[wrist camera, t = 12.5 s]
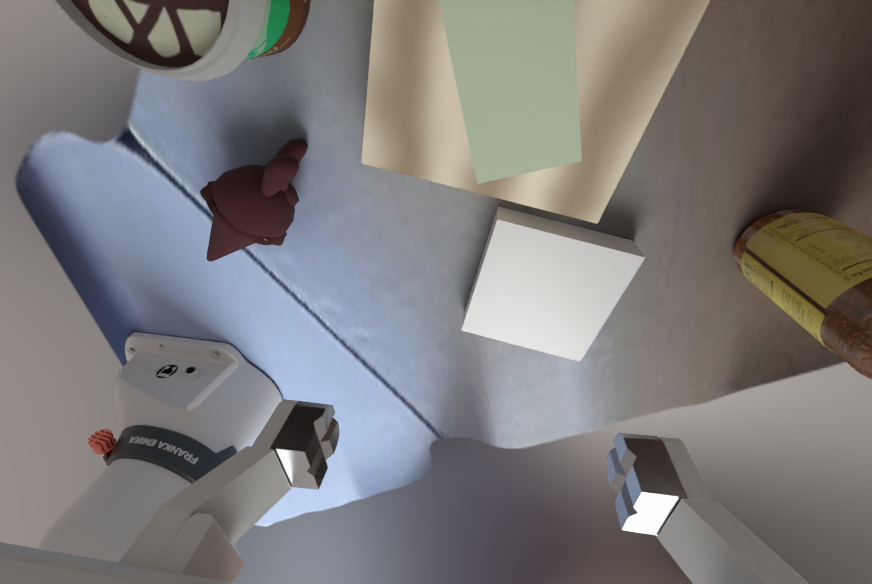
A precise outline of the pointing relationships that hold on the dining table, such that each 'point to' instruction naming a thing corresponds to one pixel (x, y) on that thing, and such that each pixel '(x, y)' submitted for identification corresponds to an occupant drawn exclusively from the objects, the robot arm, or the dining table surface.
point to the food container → (189, 32)
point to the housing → (515, 83)
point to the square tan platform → (597, 94)
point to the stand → (548, 283)
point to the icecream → (253, 202)
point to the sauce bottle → (815, 277)
